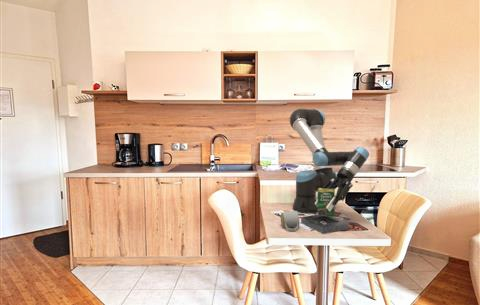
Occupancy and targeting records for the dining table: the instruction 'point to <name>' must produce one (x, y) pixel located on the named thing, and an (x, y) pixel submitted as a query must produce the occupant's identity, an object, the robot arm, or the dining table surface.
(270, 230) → the dining table surface
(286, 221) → the ceramic mug
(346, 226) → the housing
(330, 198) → the coffee box
